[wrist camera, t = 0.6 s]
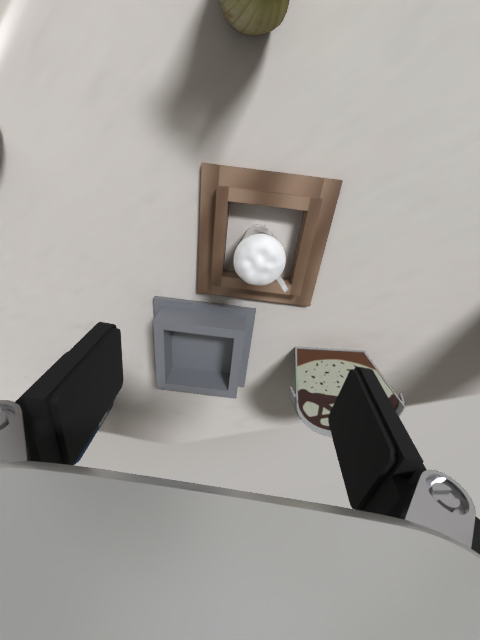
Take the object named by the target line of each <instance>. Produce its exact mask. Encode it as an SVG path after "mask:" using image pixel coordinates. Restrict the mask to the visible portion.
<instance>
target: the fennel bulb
mask: <svg viewBox="0 0 480 640" xmlns="http://www.w3.org/2000/svg"><path fill="white" fill-rule="evenodd" d="M219 3H220V6H221V9H222V12H223V14H224V16H225V18H226V20H227V21H228V22H229V23H230V24H231V25H232V27H233V28H234V29H235V30H237V31H239V32H240V33H242V34H244V35H251V36H258V35H262V34H265V33H268V32H270V31H272V30H274V29H275V28H276V27H277V26H279V25H280V24H281V22H282V21H283V19H284V17H285V14H286V12H287V9H288V5H289V0H219Z"/></svg>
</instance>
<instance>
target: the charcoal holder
mask: <svg viewBox="0 0 480 640" xmlns="http://www.w3.org/2000/svg"><path fill="white" fill-rule="evenodd" d="M153 299H154V319H153V330H154V348H155V366H156V385H157V389H162V390H170V391H179V392H187V393H195V394H203V395H211V396H220V397H228V398H236V395H237V388H238V387H244V384H245V377H246V371H247V364H248V358H249V351H250V345H251V338H252V332H253V325H254V319H255V313H256V308H248V307H240V306H231V305H223V304H215V303H207V302H199V301H191V300H183V299H175V298H167V297H158V296H155V297H154V298H153Z"/></svg>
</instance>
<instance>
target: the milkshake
mask: <svg viewBox="0 0 480 640" xmlns="http://www.w3.org/2000/svg"><path fill="white" fill-rule="evenodd" d="M233 263H234V268H235V271H236V273H237V274H238V275H239V277H240V278H242V279H243V280H244V281H245V282H247V283H248V284H252V285H267V284H269V283H271V282H273V281H274V280H276V279H277V281H278V283H279V284H280V286H281V288H282V289H283V291H284V293H285V292H287V291H288V287H287V286H286V284H285V283H284V281H283V279H282V278H281V276H280V274H281V273H282V271H283V270H284V267H285V263H286V256H285V251H284V249H283V247H282V245H281V244H280V242H279V241H278V240H277V239H276V237H275V235H274V234H273V232H272V231H271V230H270V229H269V228H268V227H267V226H266V225H258V224H256V225H254V226H253V227H251V228H249V229H248V230H247V232H246V234H245V236H244V237H243V239H242V240H241V242H240V243H239V245H238V246H237V248H236V250H235V253H234V259H233Z"/></svg>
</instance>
